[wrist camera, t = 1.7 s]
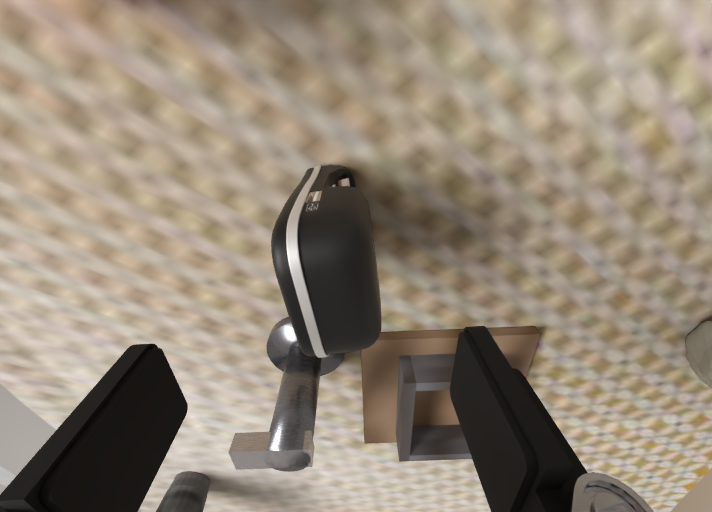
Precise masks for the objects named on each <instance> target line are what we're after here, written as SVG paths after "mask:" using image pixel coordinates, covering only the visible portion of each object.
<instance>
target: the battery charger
mask: <svg viewBox="0 0 712 512" xmlns="http://www.w3.org/2000/svg"><path fill="white" fill-rule="evenodd" d="M271 247H272V258H273V264H274V268H275V272H276V276H277V279H278V283H279V286H280V289H281V292H282V295H283V299H284V302H285V305H286V308H287V312H288V315H289V318H290V321H291V323H292V326H293V329H294V332H295V335H296V338H297V341H298V344H299V346H300V349H301V350H302V352H303V353H304V354H305V355H307V356H317V357H318V358H322V357H328V356H329V354H335V353H344V352H353V351H359V350H363V349H367V348H368V347H370V346H372V345H373V344H374V343H375V342H376V340H377V339H378V338H379V335H380V332H381V302H380V289H379V280H378V273H377V264H376V256H375V248H374V240H373V232H372V225H371V216H370V211H369V206H368V202H367V200H366V199H365V197H364V196H363V194H362V193H361V192H360V191H359V190H358V189H357V188H356V187H355V181H354V177H353V174H352V173H351V171H350V170H348V169H347V168H345V167H342V166H334V165H329V166H321V165H320V166H315V168H310V169H308V170H307V171H306V173H305V176H304V177H303V179H302V181H301V182H300V184H299V185H298V186H297V188H296V189H295V190H294V192H293V193H292V194H291V196H290V197H289V199H288V200H287V202H286V204H285V206H284V207H283V209H282V211H281V213H280V215H279V217H278V219H277V221H276V224H275V227H274V229H273V233H272V240H271Z"/></svg>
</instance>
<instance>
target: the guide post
mask: <svg viewBox="0 0 712 512" xmlns="http://www.w3.org/2000/svg"><path fill="white" fill-rule="evenodd" d="M267 353H268V356H269V358H270V360H271V361H272V363H273V364H274V365H275V366H276V367H277V368H279V369H280V370H282V371H283V372H284V373H283V377H282V381H281V386H280V390H279V394H278V398H277V402H276V406H275V411H274V415H273V419H272V423H271V427H270V431H269V432H253V433H235V436H234V438H233V441H232V444H231V447H230V450H229V454H230V457H231V459H232V461H233V463H234V466H235V468H236V469H262V468H273V469H276V470H280V471H298V470H301V469H304V468H306V467H312V465H313V455H314V443H313V435H314V426H315V417H316V407H317V398H318V389H319V380H320V376H322V375H325V374H328V373H330V372H332V371H333V370H335V369H336V368H337V367H338V366H339V365H340V364H341V362H342V360H343V358H344V353H335V354H329V356H328V357H322V358H318V357H317V356H307V355H305V354H304V353H303V352H302V350H301V349H300V346H299V344H298V341H297V338H296V335H295V332H294V329H293V326H292V323H291V321H290V318H289V317H287V318H285V319H283V320H281V321H280V322H278V323H277V324H276V325H275V326H274V328H273V329H272V331H271V333H270V336H269V339H268V342H267Z"/></svg>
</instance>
